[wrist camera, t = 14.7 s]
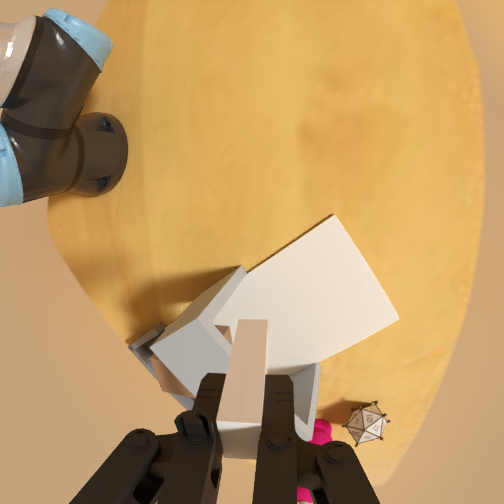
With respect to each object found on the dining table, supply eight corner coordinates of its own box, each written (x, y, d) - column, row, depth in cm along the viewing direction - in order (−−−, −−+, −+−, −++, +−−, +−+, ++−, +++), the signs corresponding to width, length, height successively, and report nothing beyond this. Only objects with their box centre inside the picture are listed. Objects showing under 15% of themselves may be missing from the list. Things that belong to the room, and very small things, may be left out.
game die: (361, 402, 50) (341, 444, 45) (351, 388, 46) (327, 436, 41) (400, 411, 44) (380, 457, 39) (395, 397, 40) (372, 450, 35)
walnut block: (229, 326, 47) (203, 367, 37) (235, 359, 49) (213, 401, 39) (182, 322, 49) (149, 357, 39) (190, 353, 51) (162, 391, 41)
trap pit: (161, 322, 51) (154, 328, 49) (232, 400, 53) (228, 408, 51) (134, 340, 55) (127, 346, 53) (199, 410, 57) (195, 417, 55)
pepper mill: (293, 430, 52) (274, 508, 34) (310, 413, 50) (294, 498, 31) (322, 440, 52) (309, 517, 33) (340, 423, 49) (332, 507, 30)
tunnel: (328, 204, 38) (328, 233, 23) (402, 323, 40) (425, 394, 25) (194, 297, 47) (143, 351, 33) (272, 387, 50) (250, 454, 35)
